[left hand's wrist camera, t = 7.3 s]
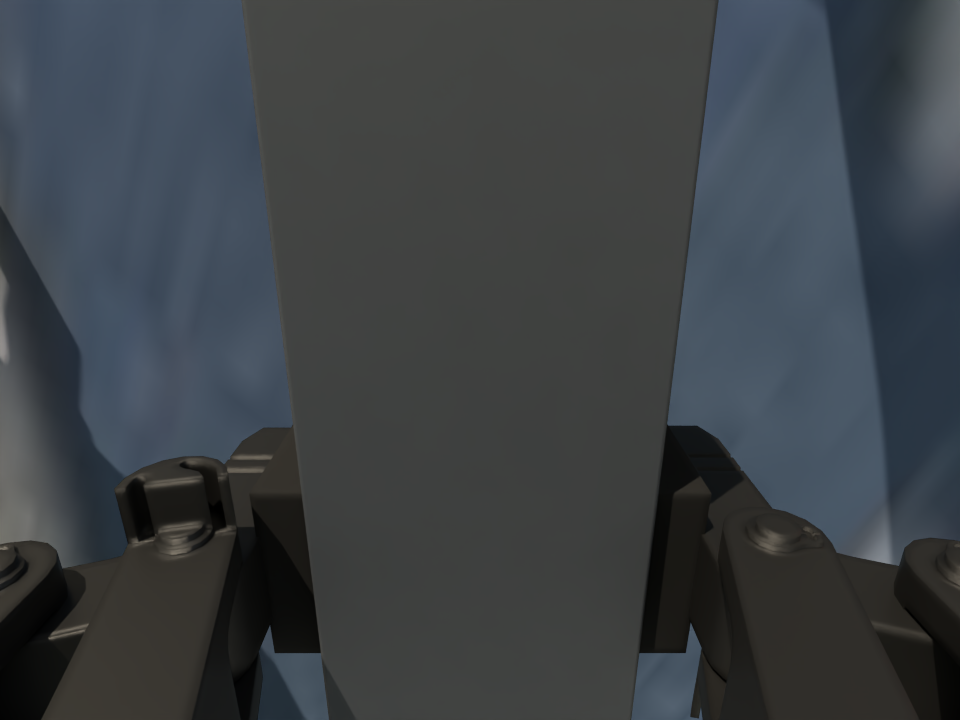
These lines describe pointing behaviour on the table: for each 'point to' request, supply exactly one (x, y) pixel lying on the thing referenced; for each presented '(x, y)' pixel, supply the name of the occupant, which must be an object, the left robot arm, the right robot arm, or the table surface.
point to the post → (480, 333)
